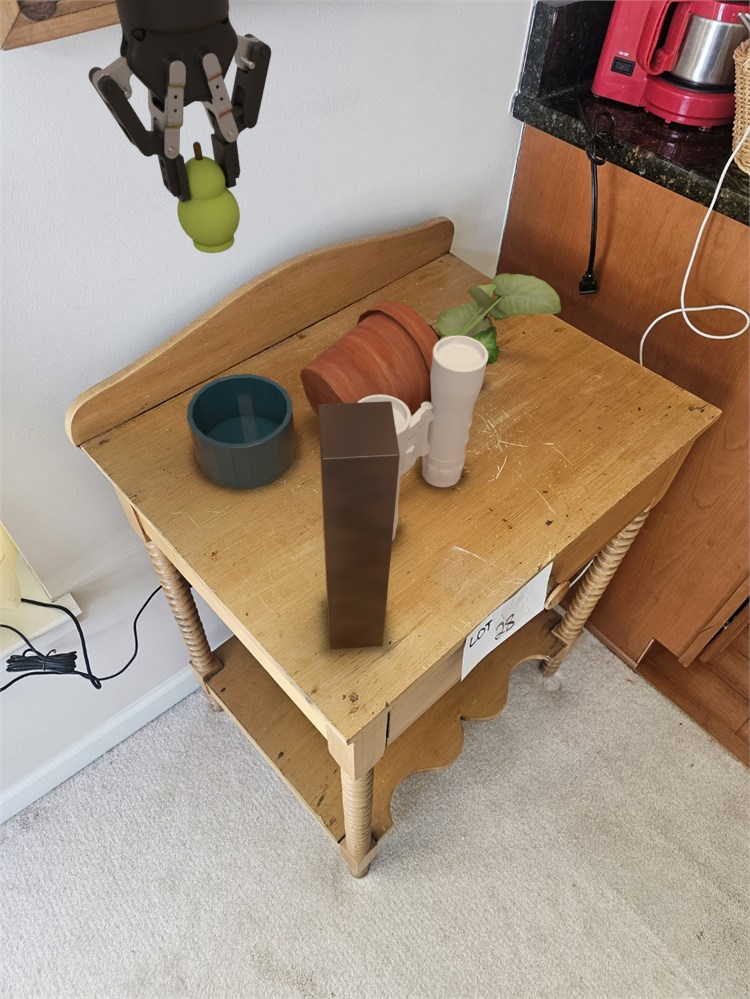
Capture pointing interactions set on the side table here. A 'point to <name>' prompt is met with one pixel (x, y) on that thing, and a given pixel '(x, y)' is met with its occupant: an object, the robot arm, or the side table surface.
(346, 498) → the pedestal
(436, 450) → the binoculars
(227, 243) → the pear
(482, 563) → the side table surface
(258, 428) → the teal bowl
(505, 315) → the potted plant
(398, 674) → the side table surface
